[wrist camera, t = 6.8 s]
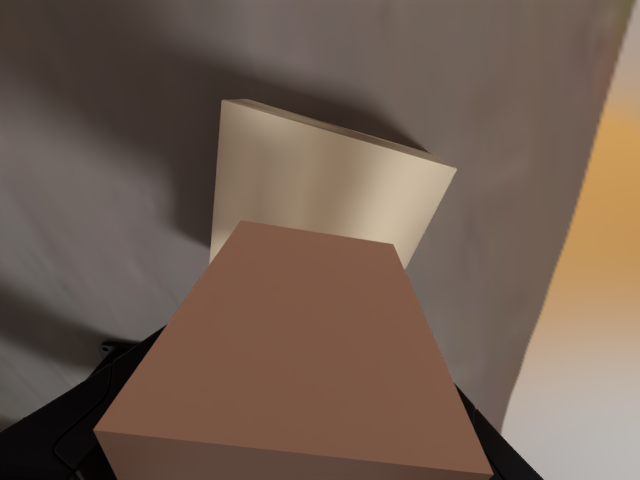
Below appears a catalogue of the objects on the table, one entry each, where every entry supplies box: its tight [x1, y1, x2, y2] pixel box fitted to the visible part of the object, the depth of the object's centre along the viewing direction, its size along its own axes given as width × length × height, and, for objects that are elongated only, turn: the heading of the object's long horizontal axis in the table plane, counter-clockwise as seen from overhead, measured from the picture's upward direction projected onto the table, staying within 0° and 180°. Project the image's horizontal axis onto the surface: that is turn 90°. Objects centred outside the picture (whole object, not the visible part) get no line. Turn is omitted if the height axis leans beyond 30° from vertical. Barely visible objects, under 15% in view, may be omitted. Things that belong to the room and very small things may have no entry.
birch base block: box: [209, 99, 457, 270], centre depth 15 cm, size 10×10×4 cm
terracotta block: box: [93, 220, 494, 480], centre depth 7 cm, size 5×5×6 cm
